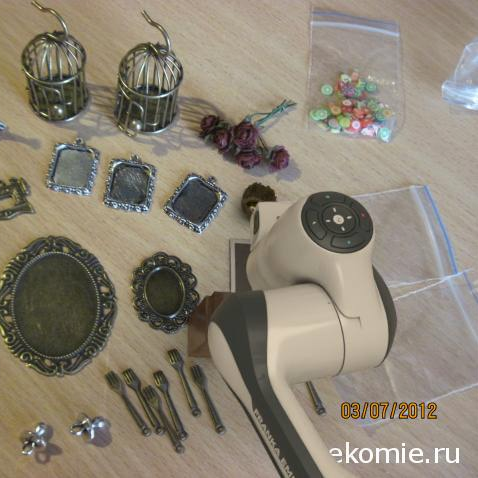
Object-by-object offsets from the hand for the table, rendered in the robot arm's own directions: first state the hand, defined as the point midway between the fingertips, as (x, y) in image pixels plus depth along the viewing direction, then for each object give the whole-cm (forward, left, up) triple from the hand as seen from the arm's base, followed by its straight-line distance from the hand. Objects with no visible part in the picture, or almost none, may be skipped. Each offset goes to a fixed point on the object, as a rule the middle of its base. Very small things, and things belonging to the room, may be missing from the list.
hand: (254, 295), depth 80 cm
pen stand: (0, 0, -37) cm, 37 cm away
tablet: (+11, -13, -37) cm, 41 cm away
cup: (+29, -10, -37) cm, 48 cm away
